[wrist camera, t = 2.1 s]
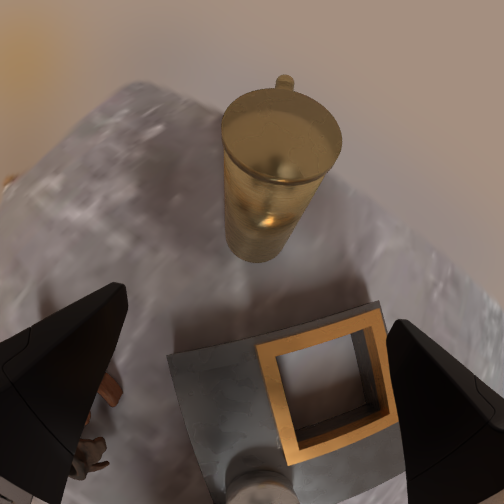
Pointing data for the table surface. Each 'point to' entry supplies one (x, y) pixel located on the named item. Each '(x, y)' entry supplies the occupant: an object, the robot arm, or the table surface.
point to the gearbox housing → (288, 417)
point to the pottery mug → (93, 449)
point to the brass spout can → (273, 165)
